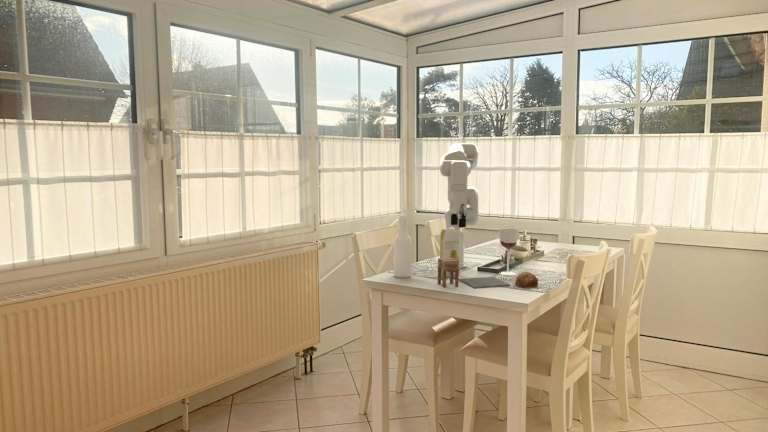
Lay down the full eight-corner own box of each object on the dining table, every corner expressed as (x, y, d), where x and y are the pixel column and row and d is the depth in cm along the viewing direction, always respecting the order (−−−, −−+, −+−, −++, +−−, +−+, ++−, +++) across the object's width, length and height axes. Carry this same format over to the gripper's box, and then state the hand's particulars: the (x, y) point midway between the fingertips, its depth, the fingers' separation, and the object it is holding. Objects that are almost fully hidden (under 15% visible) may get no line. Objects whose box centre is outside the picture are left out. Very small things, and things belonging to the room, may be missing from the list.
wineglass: (517, 275, 279) (519, 231, 276) (497, 274, 281) (499, 230, 278) (517, 272, 287) (518, 229, 285) (497, 271, 289) (499, 228, 287)
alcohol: (391, 277, 274) (391, 215, 271) (396, 273, 283) (397, 213, 279) (408, 278, 271) (408, 216, 268) (413, 274, 280) (414, 214, 276)
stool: (437, 283, 260) (438, 258, 259) (452, 283, 262) (452, 257, 261) (443, 287, 254) (444, 261, 252) (458, 286, 256) (458, 260, 254)
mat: (458, 280, 269) (458, 278, 269) (492, 277, 274) (492, 276, 274) (473, 288, 252) (474, 287, 252) (510, 285, 257) (510, 284, 257)
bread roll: (516, 290, 264) (509, 275, 263) (535, 281, 265) (529, 265, 263) (523, 295, 254) (516, 280, 253) (543, 285, 255) (536, 270, 254)
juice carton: (444, 277, 274) (444, 228, 271) (438, 274, 281) (438, 226, 278) (461, 276, 276) (462, 228, 273) (455, 273, 284) (456, 225, 281)
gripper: (444, 187, 262) (443, 224, 264) (458, 189, 245) (457, 228, 247) (459, 187, 264) (458, 223, 266) (474, 189, 247) (473, 228, 249)
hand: (458, 226), depth 256 cm, fingers open, 9 cm apart
